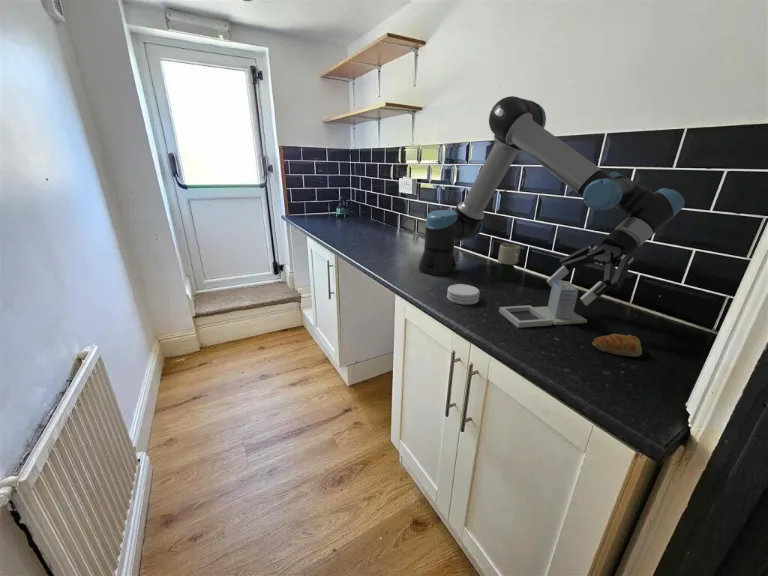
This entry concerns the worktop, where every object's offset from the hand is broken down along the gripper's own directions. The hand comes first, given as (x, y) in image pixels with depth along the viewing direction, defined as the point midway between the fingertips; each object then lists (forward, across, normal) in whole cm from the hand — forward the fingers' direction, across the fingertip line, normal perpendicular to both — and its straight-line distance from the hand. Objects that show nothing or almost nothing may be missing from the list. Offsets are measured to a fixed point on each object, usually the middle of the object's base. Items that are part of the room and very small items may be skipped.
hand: (564, 292), depth 91 cm
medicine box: (+5, 0, -5) cm, 7 cm away
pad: (+5, 0, -5) cm, 7 cm away
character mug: (+4, +32, -6) cm, 33 cm away
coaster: (+21, +16, +10) cm, 29 cm away
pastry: (+4, -18, -7) cm, 20 cm away
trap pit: (+13, 0, +3) cm, 13 cm away
